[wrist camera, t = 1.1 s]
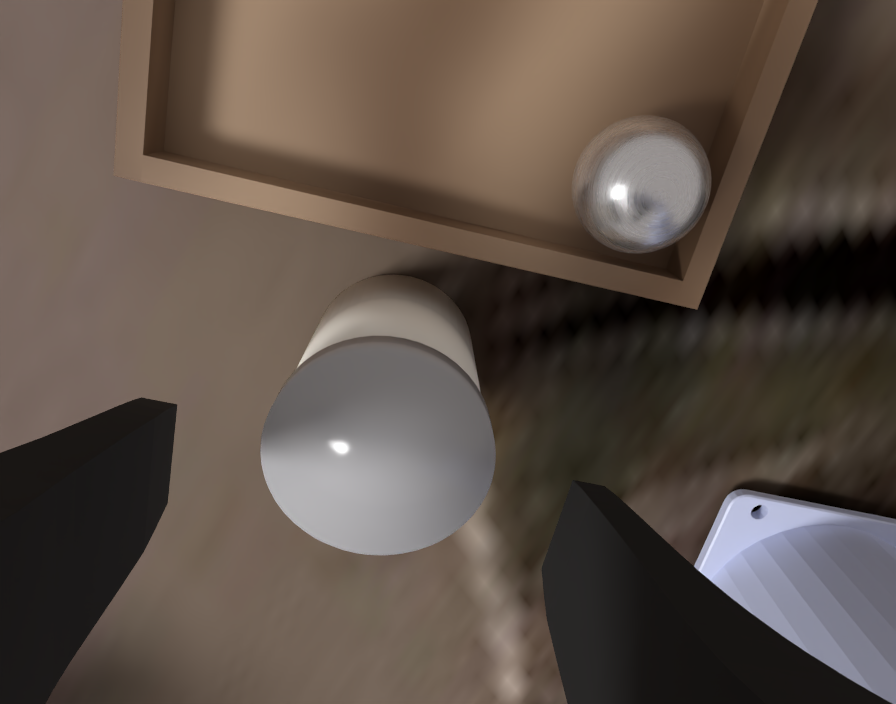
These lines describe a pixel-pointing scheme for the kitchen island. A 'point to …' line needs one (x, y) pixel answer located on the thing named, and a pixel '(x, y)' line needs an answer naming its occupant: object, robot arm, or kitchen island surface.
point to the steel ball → (641, 184)
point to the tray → (451, 115)
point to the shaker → (382, 423)
